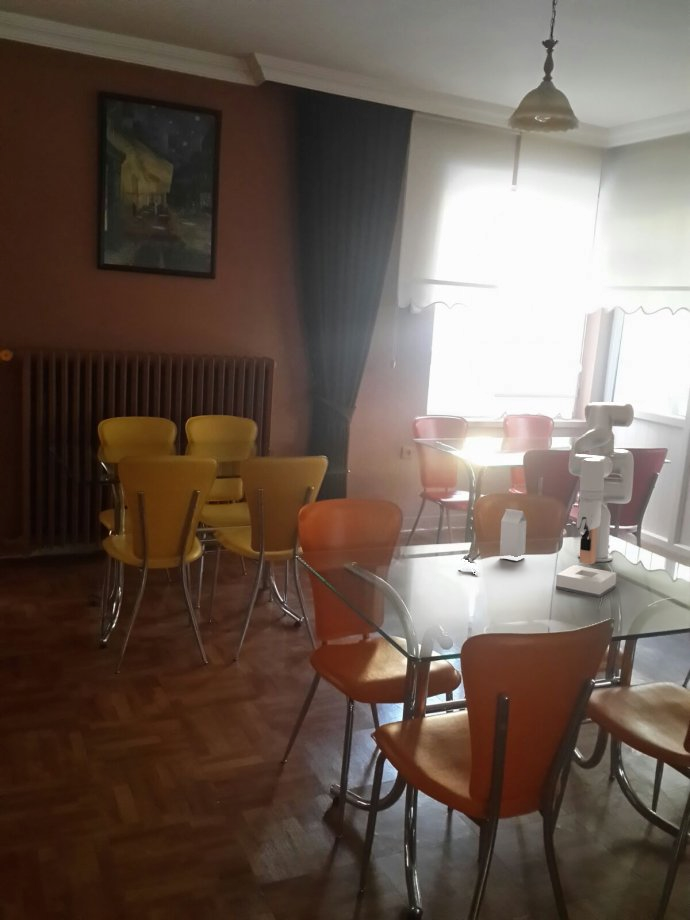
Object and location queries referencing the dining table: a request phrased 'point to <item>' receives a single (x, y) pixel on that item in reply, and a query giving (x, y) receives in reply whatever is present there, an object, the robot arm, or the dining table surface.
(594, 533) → the peg
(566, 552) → the dining table surface
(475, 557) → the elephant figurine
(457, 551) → the dining table surface
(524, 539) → the milk carton
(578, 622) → the dining table surface
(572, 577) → the socket block
